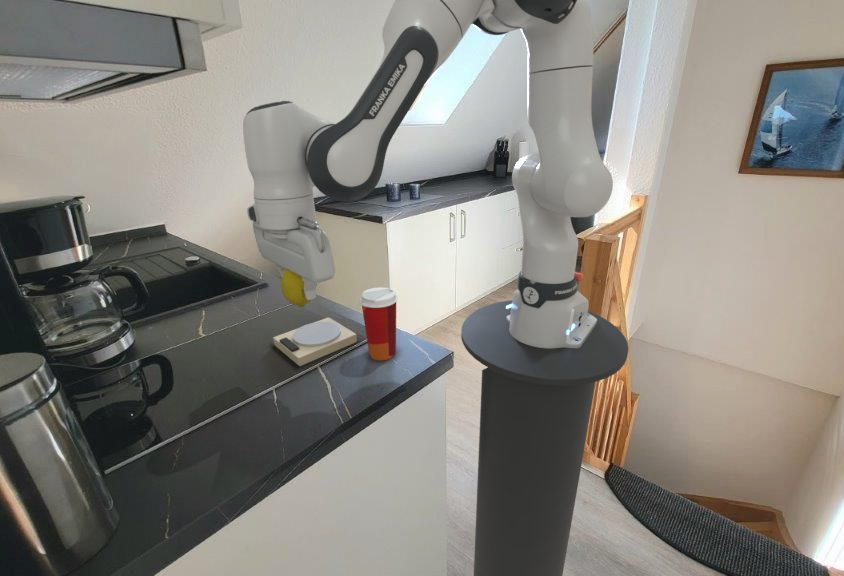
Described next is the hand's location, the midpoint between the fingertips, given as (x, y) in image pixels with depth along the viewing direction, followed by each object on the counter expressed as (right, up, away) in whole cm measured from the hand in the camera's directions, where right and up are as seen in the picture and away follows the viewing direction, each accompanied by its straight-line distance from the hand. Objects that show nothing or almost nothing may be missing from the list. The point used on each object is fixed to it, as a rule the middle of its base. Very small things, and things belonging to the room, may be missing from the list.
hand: (299, 292), depth 70 cm
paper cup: (+12, -13, +17) cm, 25 cm away
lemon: (0, -3, +1) cm, 3 cm away
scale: (-3, -12, +21) cm, 24 cm away
